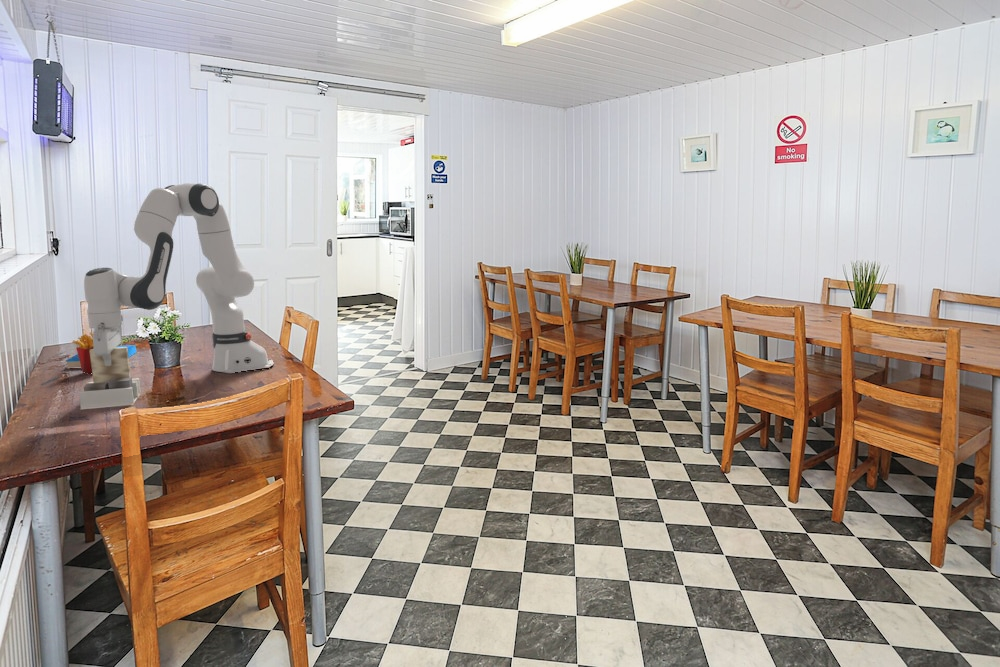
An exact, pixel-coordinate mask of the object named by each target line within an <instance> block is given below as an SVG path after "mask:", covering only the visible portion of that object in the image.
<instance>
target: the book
mask: <svg viewBox="0 0 1000 667" xmlns="http://www.w3.org/2000/svg"><path fill="white" fill-rule="evenodd" d="M117 347H127V348H128V357H129V358H130V357H132V356H133V355H134V353H135V354H136V353H137V348H136V345H135V344H127V345H126V344H125V345H123V344H122V345H118V346H117ZM131 355H132V356H131ZM65 362H66V366H67V368H68V367H81V364H80V360H79V356H78V353H77V354H75V355H74V356H71V357H70V358H67V359H65Z"/></svg>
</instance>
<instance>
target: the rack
mask: <svg viewBox="0 0 1000 667" xmlns="http://www.w3.org/2000/svg"><path fill="white" fill-rule="evenodd" d="M91 383H94V382H93V381H89V382H87V384H91ZM132 385H133V388H132V387H131V388H119V389H106V390H94V391H84V390H83V391H78V398H79V405H80V409H79V410H80V411H81V410H91V409H101V408H102V409H103V408H104V409H105V408H113V407H126V406H133V405H134V404H135V402H136V401H137V399H138V398H139V396H140V395H141V393H142V392H141V383H140V378H138V377H137V378H132ZM108 387H109V384H108ZM133 393H134V397H133Z"/></svg>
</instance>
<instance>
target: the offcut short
mask: <svg viewBox="0 0 1000 667" xmlns="http://www.w3.org/2000/svg"><path fill="white" fill-rule="evenodd" d="M106 389H109V387H108V382H104V383H91V384H88V383H86V384H85V386H83V391H94V390H106Z"/></svg>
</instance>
